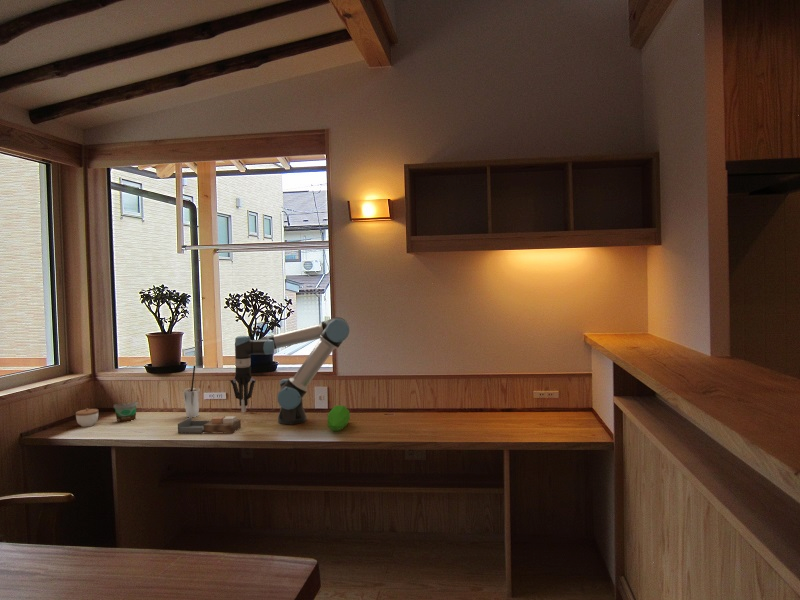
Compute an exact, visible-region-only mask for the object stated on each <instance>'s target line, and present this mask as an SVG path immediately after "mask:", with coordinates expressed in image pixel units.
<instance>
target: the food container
mask: <svg viewBox="0 0 800 600" xmlns="http://www.w3.org/2000/svg"><path fill="white" fill-rule="evenodd" d="M138 405H139V403H138V401H137V400H136V401H135V402H125V403H121V404H118V403H117V404H115V403H114V404H113V409H114V410H115V411H114V412H115V417H116V422H118V423H127V421H129V422H132V421H131V420H133V421H135V420H136V417H137V406H138ZM134 419H135V420H134Z"/></svg>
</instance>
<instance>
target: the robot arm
mask: <svg viewBox="0 0 800 600" xmlns="http://www.w3.org/2000/svg"><path fill="white" fill-rule="evenodd" d="M349 334H350V326H349V324H348V322H347V321H346V319H344V318H342V317H339V316H336V317H333V318H330V319H327V320H325V321H324V320H323V321H321V322H320V323H319V324H313V325H311V326H306V327H302V328H298V329H295V330H294V329H293V330H290V331H286V332H281V333H277V334H272V335H269V336H267V335H265V336H262V337H261V338H260V339H251V337H250V335H240V336H235V338H234V339H235V340H234V342H235V343H234V354H235V355H234V359H235V360H234V362H235V364H234V365H235V373H234V374H235V377H234V378H233V379H230V384H231V385H232V388H233V392H234V397H235V399H238V400H239V407H240V410H241V411H240V412H241V414H244V413H246V412H247V406H248V405H249V403H248V402H249V399H251V398H252V395H253V392H254V387H255V384H256V382H257V379H254V378H252V367H251V364H252V363H251V361H252V359H251V358H252V357H251V355H252V356H253V355H254V356H255V355H272V354H275V350H276V349H280V348H285V347H288V346H289V347H291V346H293V345H298V344H302V343H306V342H310V341H315V340H319V341H318V342H317V343H316V345H315V346H314V348H313V349H312V350H311V351H310V354H309V355H308V356H307V357H306V359H305V360H304V362H303V363H302V365H300V367H299V368H298V370H297V372H296V373H295V374H294V376H291V377H288V378H283V379H281V380H280V382H279V386H280V387H279V388H280V389H279V391H278V392H277V393H278V394H277V396H276V398H277V403H278V405H279V406H280V409H279V413H278V415H277V416H278V417H277V422H278V424H281V425H296V424H297V425H298V424H301V423H305V422H306V421H307V414H306V411H305V409H304V406H303V404H304V403H303V401H304V400H303V398H304V396H305V395H306V393H307V392H308V386H309V384H310V383H311V381H312V380H313V379H314V377H315V376H316V375H317V373H318V372H319V370H320V369H321V367H322V366H323V365H324V363H326V360H327V359H328V358H329V356H330V355H331V354H332V352H333V351H334V350H335V349H338V348H340V346H341V345H342V344H343V342H344V341H345V340H347V338H348V336H349ZM249 383H250V385H249Z"/></svg>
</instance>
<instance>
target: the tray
mask: <svg viewBox="0 0 800 600" xmlns="http://www.w3.org/2000/svg"><path fill="white" fill-rule="evenodd" d="M209 421H210V420H193V419H192V417H189V418H187V417H186V418H185V419H183V420H182V421H180V422H179V423H177V434H198V433H202V434H204V433H203V432H204V426H203V425H204V424H206V423H208V422H209Z"/></svg>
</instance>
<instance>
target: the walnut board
mask: <svg viewBox="0 0 800 600" xmlns="http://www.w3.org/2000/svg"><path fill="white" fill-rule="evenodd" d="M208 421H209V422H208V423H206V424H204V425H203V426H204V432H223V433H222V434H225V433H224V432H227V433H226V434H233V433H235V432H236V431H237V430H239V429H240V428H241V427H242V426H241V425H242V422H241V421H242V419H241V418H239V419H237V418H236V422H234V423H233V424H223V423H221V424H212V419H211V420H208ZM238 428H239V429H238ZM235 430H236V431H235ZM234 431H235V432H234Z"/></svg>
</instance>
